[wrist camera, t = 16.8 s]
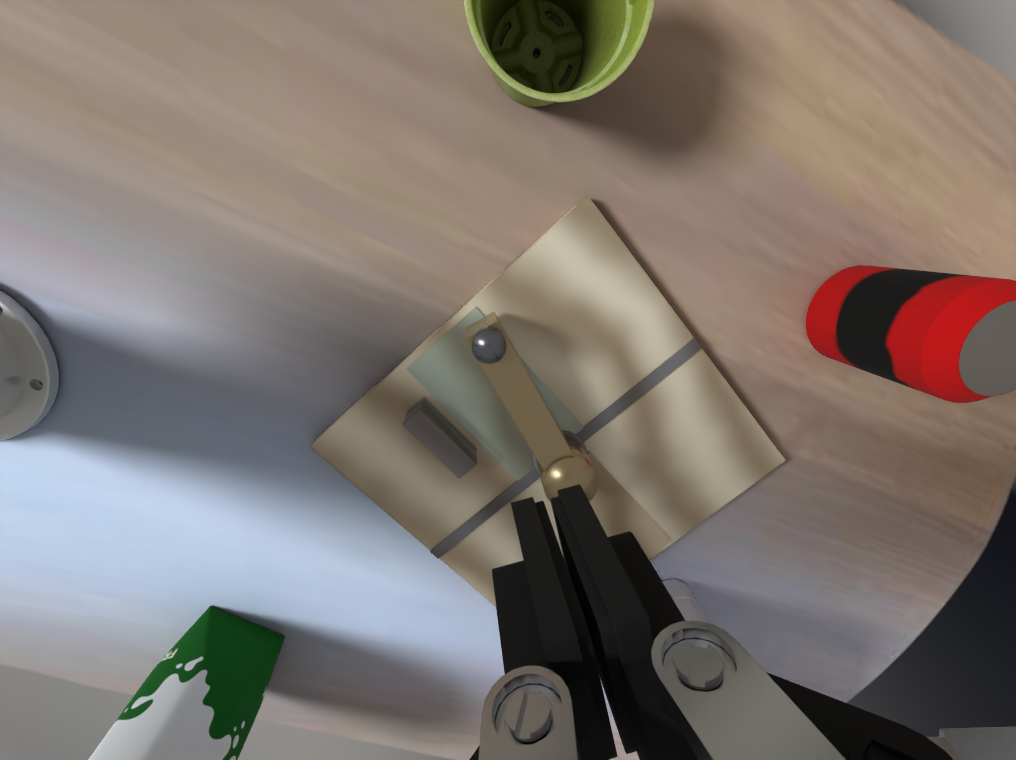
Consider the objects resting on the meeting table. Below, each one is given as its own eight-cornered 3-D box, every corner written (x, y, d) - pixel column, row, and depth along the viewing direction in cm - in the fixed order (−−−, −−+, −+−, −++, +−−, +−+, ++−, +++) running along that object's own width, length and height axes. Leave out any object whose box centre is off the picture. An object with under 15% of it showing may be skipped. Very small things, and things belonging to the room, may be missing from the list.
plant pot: (506, -67, 29) (520, -184, 21) (633, 22, 31) (692, -53, 23) (440, 86, 31) (430, 35, 23) (563, 160, 33) (594, 137, 25)
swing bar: (593, 465, 39) (610, 497, 34) (550, 488, 39) (560, 523, 34) (503, 304, 34) (508, 316, 29) (455, 331, 34) (452, 348, 30)
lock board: (535, 632, 46) (541, 668, 42) (314, 439, 38) (297, 463, 34) (776, 454, 42) (807, 476, 38) (584, 197, 34) (598, 193, 30)
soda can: (892, 344, 40) (1063, 392, 28) (804, 368, 40) (939, 425, 28) (893, 253, 37) (1080, 265, 26) (799, 279, 37) (945, 302, 26)
